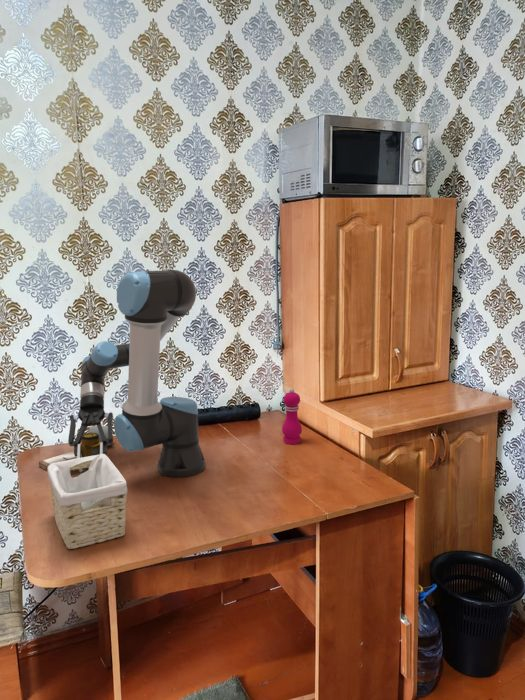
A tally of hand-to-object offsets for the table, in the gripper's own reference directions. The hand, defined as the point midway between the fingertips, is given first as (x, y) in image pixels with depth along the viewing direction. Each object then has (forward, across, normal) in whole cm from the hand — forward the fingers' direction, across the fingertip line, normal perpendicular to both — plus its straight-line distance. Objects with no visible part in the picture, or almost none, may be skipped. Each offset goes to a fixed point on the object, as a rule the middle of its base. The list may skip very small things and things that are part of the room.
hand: (90, 464), depth 174 cm
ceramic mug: (-19, 0, -26) cm, 32 cm away
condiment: (0, 0, -6) cm, 6 cm away
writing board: (-6, +9, -13) cm, 17 cm away
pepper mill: (-10, -68, -18) cm, 71 cm away
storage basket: (+25, -3, +16) cm, 30 cm away
